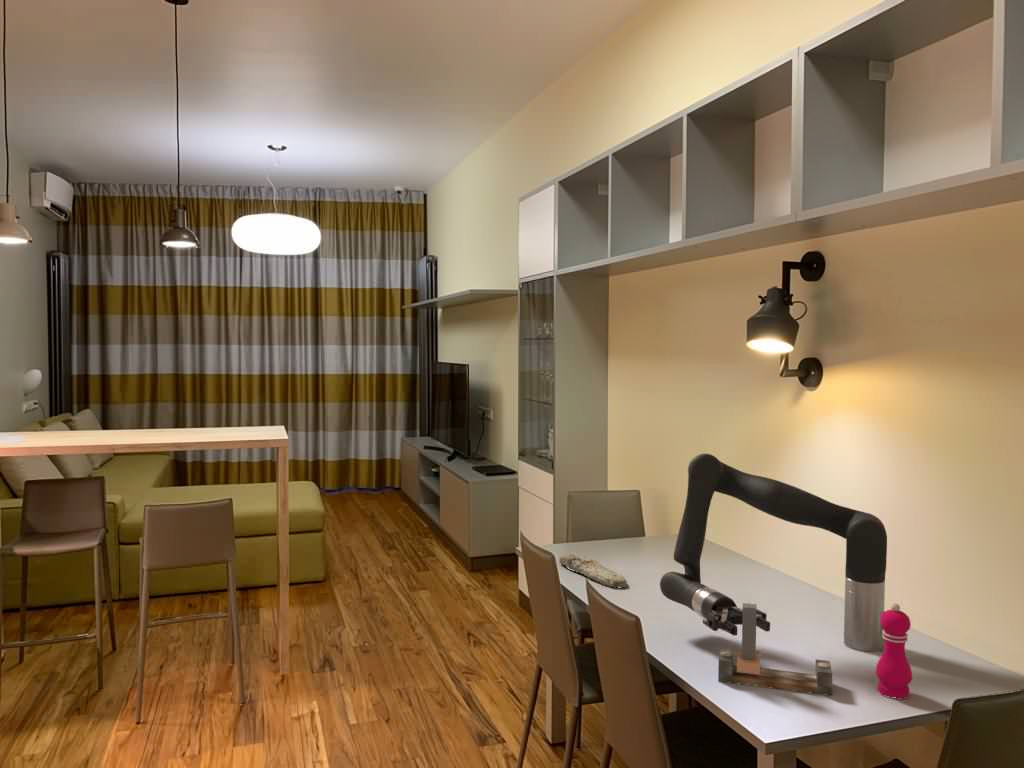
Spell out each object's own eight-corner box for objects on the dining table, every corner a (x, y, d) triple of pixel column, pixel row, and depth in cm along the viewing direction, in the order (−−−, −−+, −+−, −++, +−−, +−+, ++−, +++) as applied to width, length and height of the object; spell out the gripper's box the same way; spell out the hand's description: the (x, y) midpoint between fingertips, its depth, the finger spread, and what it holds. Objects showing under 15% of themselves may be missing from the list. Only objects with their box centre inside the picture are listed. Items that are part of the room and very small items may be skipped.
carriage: (760, 663, 184) (761, 602, 183) (759, 674, 178) (761, 611, 177) (737, 661, 186) (738, 600, 185) (736, 671, 180) (737, 609, 179)
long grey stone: (608, 596, 246) (634, 592, 251) (610, 579, 246) (636, 576, 251) (550, 562, 277) (574, 560, 282) (551, 547, 277) (575, 545, 281)
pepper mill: (880, 683, 180) (882, 596, 179) (915, 692, 175) (917, 602, 174) (871, 694, 174) (873, 604, 173) (907, 703, 170) (909, 611, 169)
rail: (829, 682, 180) (829, 659, 180) (831, 695, 173) (832, 671, 173) (719, 669, 187) (720, 647, 187) (718, 681, 181) (718, 658, 180)
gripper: (688, 594, 193) (725, 616, 178) (739, 588, 198) (779, 609, 182) (687, 624, 194) (724, 649, 178) (738, 618, 198) (779, 642, 182)
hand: (752, 629), depth 180 cm, fingers open, 8 cm apart
